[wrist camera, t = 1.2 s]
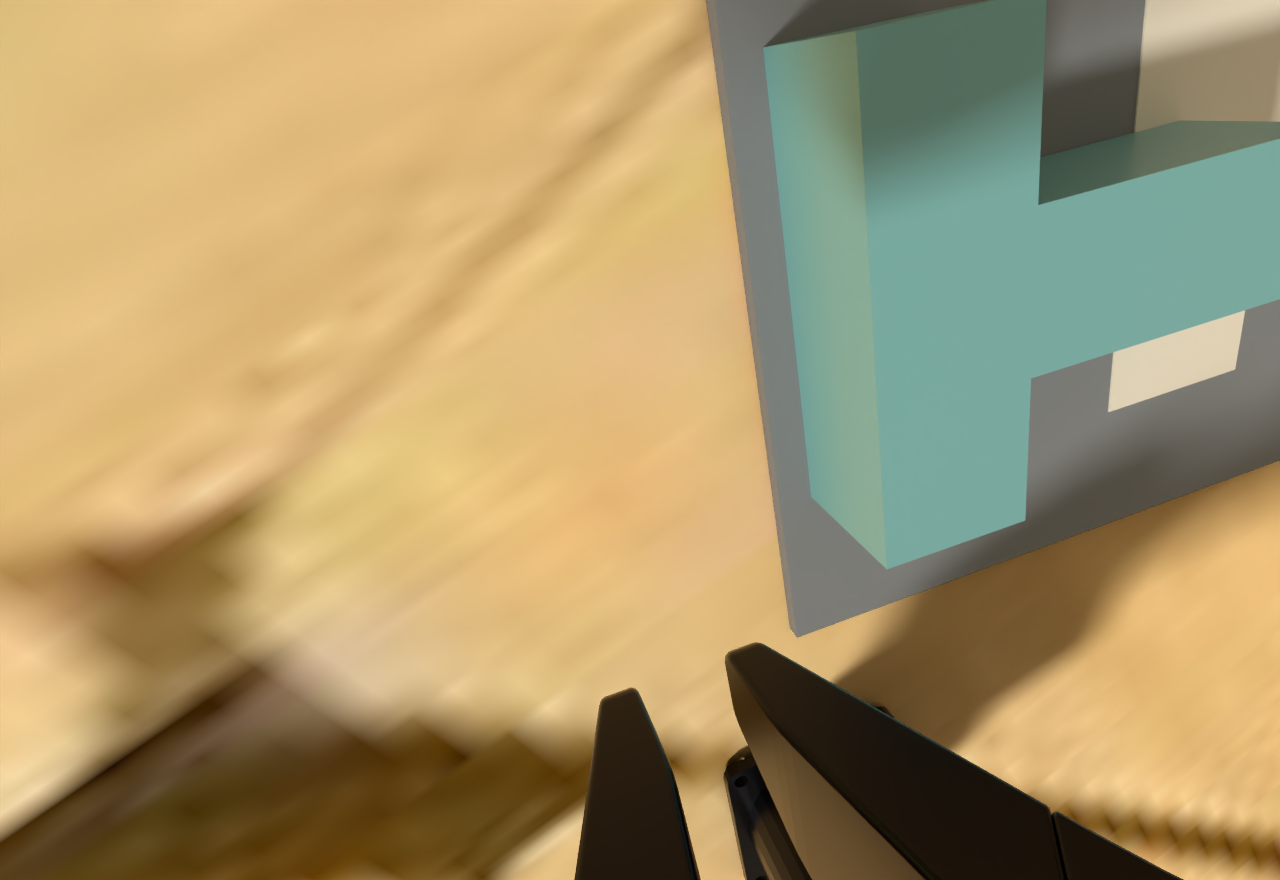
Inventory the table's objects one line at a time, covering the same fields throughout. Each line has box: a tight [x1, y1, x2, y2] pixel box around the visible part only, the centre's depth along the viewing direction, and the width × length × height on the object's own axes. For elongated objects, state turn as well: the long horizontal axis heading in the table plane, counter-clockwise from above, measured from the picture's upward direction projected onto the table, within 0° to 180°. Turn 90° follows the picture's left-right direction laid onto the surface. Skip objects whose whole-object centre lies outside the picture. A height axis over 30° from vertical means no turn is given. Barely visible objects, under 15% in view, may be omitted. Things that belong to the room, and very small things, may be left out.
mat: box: [706, 0, 1280, 637], centre depth 22 cm, size 22×26×1 cm
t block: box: [763, 0, 1280, 569], centre depth 19 cm, size 12×12×4 cm
